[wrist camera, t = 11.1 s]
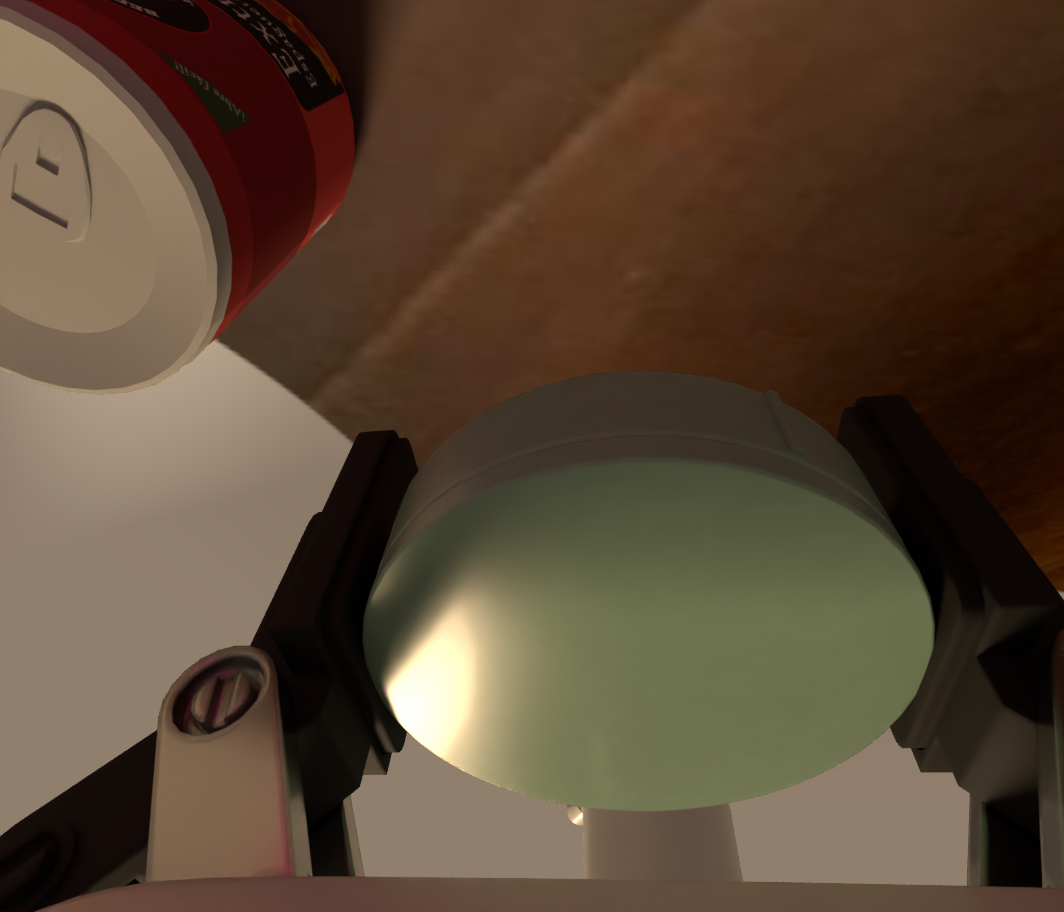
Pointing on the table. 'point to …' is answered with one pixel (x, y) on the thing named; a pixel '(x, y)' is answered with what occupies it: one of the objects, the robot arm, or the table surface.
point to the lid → (645, 597)
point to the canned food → (154, 177)
